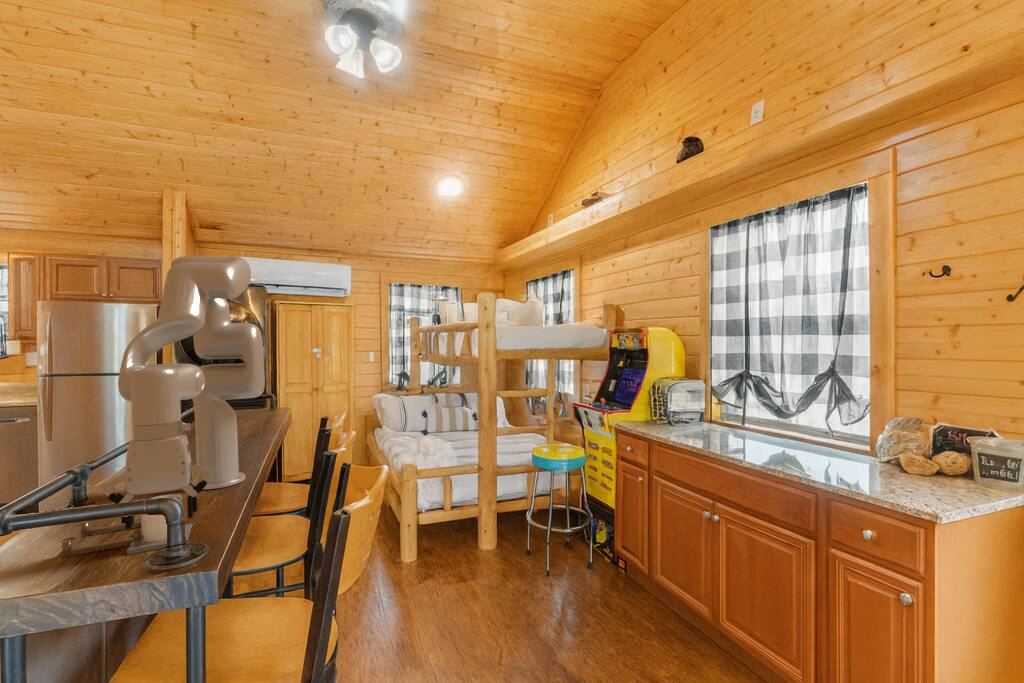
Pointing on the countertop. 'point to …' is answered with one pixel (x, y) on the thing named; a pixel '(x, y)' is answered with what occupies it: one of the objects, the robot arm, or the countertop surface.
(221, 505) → the countertop surface
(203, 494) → the countertop surface
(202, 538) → the countertop surface
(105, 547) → the brown square frame
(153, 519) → the shot glass
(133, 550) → the coaster
